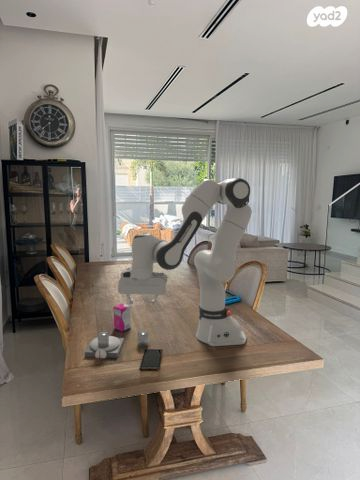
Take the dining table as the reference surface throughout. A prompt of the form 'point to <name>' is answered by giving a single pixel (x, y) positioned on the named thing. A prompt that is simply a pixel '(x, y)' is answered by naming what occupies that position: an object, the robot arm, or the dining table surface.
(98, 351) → the scale
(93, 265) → the dining table surface
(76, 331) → the dining table surface
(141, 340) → the cylinder
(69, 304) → the dining table surface
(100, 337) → the cylinder
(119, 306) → the supplement box
